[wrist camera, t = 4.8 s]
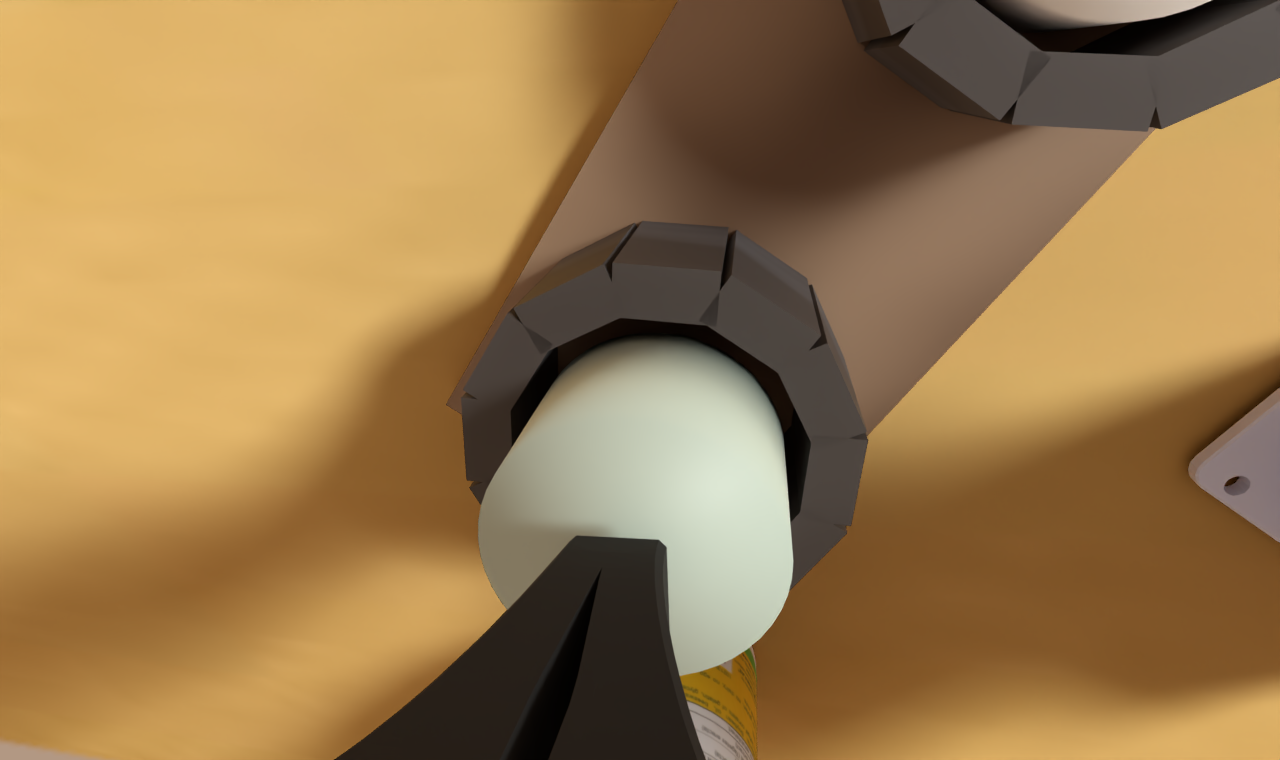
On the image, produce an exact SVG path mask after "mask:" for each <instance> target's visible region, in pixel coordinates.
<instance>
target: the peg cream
mask: <svg viewBox="0 0 1280 760" xmlns="http://www.w3.org/2000/svg"><path fill="white" fill-rule="evenodd" d="M975 1H976V2H978V3H979V4H980V5H982V6H983V7H984V8H986V9H987V10H988V11H990V12H991V13H992V14H994V15H995V16H996V17H997V18H999V19H1000V20H1001V21H1003V22H1004V23H1005V24H1007V25H1008V26H1009V27H1011V28H1012V29H1013V30H1015V31H1016V32H1020V33H1039V32H1051V31H1059V30H1067V29H1076V28H1084V27H1093V26H1101V25H1110V24H1118V23H1126V22H1135V21H1141V20H1148V19H1154V18H1160V17H1165V16H1168V15H1172V14H1175V13H1179V12H1182V11H1186V10H1189V9H1192V8H1195V7H1197V6H1199V5H1202V4H1204V3H1207V2H1209V1H1211V0H975Z"/></svg>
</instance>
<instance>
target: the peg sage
mask: <svg viewBox="0 0 1280 760" xmlns="http://www.w3.org/2000/svg"><path fill="white" fill-rule="evenodd" d="M576 535H579V536H598V537H617V538H637V539H656V540H660V541H661V542H662V543H663V544H664V545H665V546H666V547H667V569H668V597H669V626H670V635H671V640H672V645H673V650H674V655H675V659H676V663H677V667H678V671H679V675H680V676H682V675H687V674H691V673H696V672H700V671H703V670H706V669H709V668H712V667H715V666H718V665H720V664H722V663H724V662H726V661H729V660H731V659H733V658H734V657H736V656H738V655H739V654H741V653H742V652H744V651H745V650H747V649H748V648H749V647H751V646H752V645H753V644H754V643H755V642H757V641H758V640H759V639H760V638H761V637H762V636H763V635H764V634H765V633H766V631H767V630H768V629H769V628H770V627H771V626H772V624H773V623H774V621H775V620H776V618H777V617H778V615H779V613H780V612H781V610H782V608H783V605H784V603H785V601H786V599H787V596H788V593H789V589H790V585H791V581H792V573H793V550H792V538H791V525H790V512H789V500H788V487H787V475H786V462H785V449H784V438H783V431H782V427H781V422H780V419H779V416H778V414H777V411H776V409H775V406H774V404H773V402H772V400H771V399H770V397H769V395H768V393H767V392H766V390H765V389H764V388H763V386H762V385H761V384H760V382H759V381H758V380H757V379H756V377H755V376H754V375H753V374H752V373H750V372H749V371H748V370H747V369H746V368H745V367H744V366H743V365H742V364H741V363H739V362H738V361H737V360H735V359H734V358H733V357H731V356H730V355H728V354H726V353H725V352H723V351H721V350H719V349H718V348H716V347H714V346H711V345H709V344H707V343H704V342H702V341H699V340H696V339H692V338H689V337H685V336H681V335H675V334H668V333H638V334H630V335H625V336H621V337H616V338H613V339H610V340H608V341H605V342H602V343H600V344H598V345H596V346H594V347H592V348H590V349H588V350H586V351H585V352H583V353H582V354H581V355H579V356H578V357H577V358H575V359H574V360H573V361H572V362H571V363H570V364H569V365H567V366H566V367H565V368H564V369H563V370H562V372H561V373H560V374H559V376H558V377H557V378H556V379H555V381H554V382H553V384H552V385H551V387H550V388H549V390H548V391H547V393H546V395H545V396H544V398H543V399H542V401H541V402H540V404H539V406H538V407H537V409H536V410H535V412H534V413H533V415H532V417H531V418H530V420H529V421H528V423H527V424H526V426H525V428H524V429H523V431H522V432H521V434H520V435H519V437H518V439H517V440H516V442H515V443H514V445H513V446H512V448H511V450H510V451H509V453H508V454H507V456H506V457H505V459H504V461H503V462H502V464H501V465H500V467H499V468H498V470H497V472H496V473H495V475H494V477H493V479H492V480H491V482H490V484H489V486H488V488H487V490H486V493H485V495H484V498H483V501H482V504H481V509H480V514H479V520H478V542H479V549H480V556H481V559H482V562H483V566H484V569H485V572H486V574H487V577H488V579H489V581H490V583H491V586H492V588H493V589H494V591H495V593H496V594H497V596H498V598H499V599H500V601H501V602H502V604H503V605H504V606H505V607H506V609H507V610H508V609H509V608H510V606H511V605H512V604H513V603H514V602H515V601H516V600H517V599H518V598H519V597H520V596H521V595H522V594H523V593H524V592H525V591H526V590H527V588H528V587H529V586H530V585H531V584H532V583H533V582H534V581H535V580H536V579H537V577H538V576H539V575H540V574H541V573H542V572H543V571H544V570H545V569H546V567H547V566H548V565H549V564H550V563H551V562H552V561H553V559H554V558H555V557H556V556H557V555H558V554H559V553H560V551H561V550H562V549H563V548H564V547H565V546H566V545H567V544H568V542H569V541H571V540H572V539H573V538H574V537H575V536H576Z"/></svg>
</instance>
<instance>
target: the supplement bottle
mask: <svg viewBox="0 0 1280 760" xmlns="http://www.w3.org/2000/svg"><path fill="white" fill-rule="evenodd" d="M680 679H681V682H682V686H683V690H684V693H685V697H686V700H687V704H688V707H689V710H690V714H691V717H692V720H693V723H694V726H695V729H696V733H697V736H698V739H699V742H700V744H701V747H702V750H703V753H704V755H705V758H706V760H757V676H756V661H755V655H754V651H753V648H752V646H751V647H749V648H748V649H747V650H745V651H744V652H742V653H741V654H739V655H738V656H736V657H734V658H733V659H731V660H729V661H726V662H724V663H722V664H720V665H718V666H715V667H712V668H709V669H706V670H703V671H700V672H696V673H691V674H687V675H682V676H680Z"/></svg>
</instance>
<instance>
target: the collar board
mask: <svg viewBox="0 0 1280 760" xmlns="http://www.w3.org/2000/svg"><path fill="white" fill-rule="evenodd" d="M1278 78H1280V0H1211V1H1209V2H1207V3H1204V4H1202V5H1199V6H1197V7H1195V8H1192V9H1189V10H1186V11H1182V12H1179V13H1175V14H1172V15H1168V16H1165V17H1160V18H1154V19H1148V20H1141V21H1135V22H1126V23H1118V24H1110V25H1101V26H1093V27H1084V28H1076V29H1067V30H1059V31H1051V32H1039V33H1020V32H1016V31H1015V30H1013V29H1012V28H1011V27H1009V26H1008V25H1007V24H1005V23H1004V22H1003V21H1001V20H1000V19H999V18H997V17H996V16H995V15H994V14H992V13H991V12H990V11H988V10H987V9H986V8H984V7H983V6H982V5H980V4H979V3H978V2H976V1H975V0H678V2H677V3H676V5H675V7H674V9H673V10H672V12H671V14H670V16H669V17H668V19H667V21H666V22H665V24H664V26H663V28H662V29H661V31H660V33H659V35H658V36H657V38H656V40H655V42H654V43H653V45H652V47H651V49H650V50H649V52H648V54H647V56H646V57H645V59H644V61H643V62H642V64H641V66H640V68H639V69H638V71H637V73H636V75H635V76H634V78H633V80H632V82H631V83H630V85H629V87H628V89H627V90H626V92H625V94H624V96H623V97H622V99H621V101H620V103H619V104H618V106H617V108H616V109H615V111H614V113H613V115H612V116H611V118H610V120H609V122H608V123H607V125H606V127H605V129H604V130H603V132H602V134H601V136H600V137H599V139H598V141H597V143H596V144H595V146H594V148H593V149H592V151H591V153H590V155H589V156H588V158H587V160H586V162H585V163H584V165H583V167H582V169H581V170H580V172H579V174H578V176H577V177H576V179H575V181H574V183H573V184H572V186H571V188H570V190H569V191H568V193H567V195H566V196H565V198H564V200H563V202H562V203H561V205H560V207H559V209H558V210H557V212H556V214H555V216H554V217H553V219H552V221H551V223H550V224H549V226H548V228H547V230H546V231H545V233H544V235H543V236H542V238H541V240H540V242H539V243H538V245H537V247H536V249H535V250H534V252H533V254H532V256H531V257H530V259H529V261H528V263H527V264H526V266H525V268H524V270H523V271H522V273H521V275H520V277H519V278H518V280H517V282H516V283H515V285H514V287H513V289H512V290H511V292H510V294H509V296H508V297H507V299H506V301H505V303H504V304H503V306H502V308H501V310H500V311H499V313H498V315H497V317H496V318H495V320H494V322H493V323H492V325H491V327H490V329H489V330H488V332H487V334H486V336H485V337H484V339H483V341H482V343H481V344H480V346H479V348H478V350H477V351H476V353H475V355H474V357H473V358H472V360H471V362H470V364H469V365H468V367H467V369H466V370H465V372H464V374H463V376H462V377H461V379H460V381H459V383H458V384H457V386H456V388H455V390H454V391H453V393H452V395H451V397H450V398H449V400H448V402H447V404H446V405H447V406H449V407H450V408H452V409H454V410H455V411H457V412H458V413H460V414H462V420H463V435H464V449H465V464H466V479H467V480H469V481H474V482H473V483H472V484H471V486H470V487H469V488H470V490H471V491H472V493H473V494H474V496H475V497H476V498H477V500H478V501H479V503H480V504H482V501H483V498H484V495H485V493H486V490H487V488H488V486H489V484H490V482H491V480H492V479H493V477H494V475H495V473H496V472H497V470H498V468H499V467H500V465H501V464H502V462H503V461H504V459H505V457H506V456H507V454H508V453H509V451H510V450H511V448H512V446H513V445H514V443H515V442H516V440H517V439H518V437H519V435H520V434H521V432H522V431H523V429H524V428H525V426H526V424H527V423H528V421H529V420H530V418H531V417H532V415H533V413H534V412H535V410H536V409H537V407H538V406H539V404H540V402H541V401H542V399H543V398H544V396H545V395H546V393H547V391H548V390H549V388H550V387H551V385H552V384H553V382H554V381H555V379H556V378H557V377H558V376H559V374H560V373H561V372H562V370H563V369H564V368H565V367H566V366H567V365H569V364H570V363H571V362H572V361H573V360H574V359H575V358H577V357H578V356H579V355H581V354H582V353H583V352H585V351H586V350H588V349H590V348H592V347H594V346H596V345H598V344H600V343H602V342H605V341H608V340H610V339H613V338H616V337H621V336H625V335H630V334H638V333H668V334H675V335H681V336H685V337H689V338H692V339H696V340H699V341H702V342H704V343H707V344H709V345H711V346H714V347H716V348H718V349H719V350H721V351H723V352H725V353H726V354H728V355H730V356H731V357H733V358H734V359H735V360H737V361H738V362H739V363H741V364H742V365H743V366H744V367H745V368H746V369H747V370H748V371H749V372H750V373H752V374H753V375H754V376H755V377H756V379H757V380H758V381H759V382H760V384H761V385H762V386H763V388H764V389H765V390H766V392H767V393H768V395H769V397H770V399H771V400H772V402H773V404H774V406H775V409H776V411H777V414H778V416H779V419H780V422H781V427H782V431H783V438H784V449H785V462H786V475H787V487H788V500H789V512H790V525H791V538H792V550H793V573H792V581H791V585H790V589H789V591H790V590H791V589H792V588H793V587H794V586H795V585H796V584H797V583H798V582H799V581H800V580H801V579H802V578H803V577H804V576H805V575H806V574H807V573H808V572H809V571H810V570H811V569H812V568H813V567H814V566H815V565H816V564H817V563H818V562H819V561H820V560H821V559H822V558H823V557H824V556H825V555H826V554H827V553H828V552H829V551H830V550H831V549H832V548H833V547H834V546H835V545H836V544H837V543H838V542H839V541H840V540H841V539H842V538H843V537H844V536H845V535H846V534H847V530H846V526H851V524H852V519H853V514H854V509H855V504H856V499H857V493H858V488H859V483H860V478H861V473H862V468H863V463H864V458H865V453H866V448H867V443H868V439H867V436H868V434H869V433H870V432H871V431H872V430H873V429H874V428H875V427H876V426H877V425H878V424H879V423H880V422H881V421H882V420H883V418H884V417H885V416H886V415H887V414H888V413H889V412H890V411H891V410H892V409H893V408H894V407H895V406H896V405H897V404H898V403H899V401H900V400H901V399H902V398H903V397H904V396H905V395H906V394H907V393H908V392H909V391H910V390H911V389H912V388H913V387H914V385H915V384H916V383H917V382H918V381H919V380H920V379H921V378H922V377H923V376H924V375H925V374H926V373H927V372H928V371H929V369H930V368H931V367H932V366H933V365H934V364H935V363H936V362H937V361H938V360H939V359H940V358H941V357H942V356H943V355H944V353H945V352H946V351H947V350H948V349H949V348H950V347H951V346H952V345H953V344H954V343H955V342H956V341H957V340H958V339H959V337H960V336H961V335H962V334H963V333H964V332H965V331H966V330H967V329H968V328H969V327H970V326H971V325H972V324H973V323H974V322H975V320H976V319H977V318H978V317H979V316H980V315H981V314H982V313H983V312H984V311H985V310H986V309H987V308H988V307H989V306H990V304H991V303H992V302H993V301H994V300H995V299H996V298H997V297H998V296H999V295H1000V294H1001V293H1002V292H1003V291H1004V290H1005V288H1006V287H1007V286H1008V285H1009V284H1010V283H1011V282H1012V281H1013V280H1014V279H1015V278H1016V277H1017V276H1018V275H1019V274H1020V272H1021V271H1022V270H1023V269H1024V268H1025V267H1026V266H1027V265H1028V264H1029V263H1030V262H1031V261H1032V260H1033V259H1034V258H1035V256H1036V255H1037V254H1038V253H1039V252H1040V251H1041V250H1042V249H1043V248H1044V247H1045V246H1046V245H1047V244H1048V243H1049V242H1050V241H1051V239H1052V238H1053V237H1054V236H1055V235H1056V234H1057V233H1058V232H1059V231H1060V230H1061V229H1062V228H1063V227H1064V226H1065V225H1066V223H1067V222H1068V221H1069V220H1070V219H1071V218H1072V217H1073V216H1074V215H1075V214H1076V213H1077V212H1078V211H1079V210H1080V209H1081V207H1082V206H1083V205H1084V204H1085V203H1086V202H1087V201H1088V200H1089V199H1090V198H1091V197H1092V196H1093V195H1094V194H1095V193H1096V191H1097V190H1098V189H1099V188H1100V187H1101V186H1102V185H1103V184H1104V183H1105V182H1106V181H1107V180H1108V179H1109V178H1110V177H1111V175H1112V174H1113V173H1114V172H1115V171H1116V170H1117V169H1118V168H1119V167H1120V166H1121V165H1122V164H1123V163H1124V162H1125V161H1126V160H1127V158H1128V157H1129V156H1130V155H1131V154H1132V153H1133V152H1134V151H1135V150H1136V149H1137V148H1138V147H1139V146H1140V145H1141V144H1142V142H1143V141H1144V140H1145V139H1146V138H1147V137H1148V136H1149V135H1150V134H1151V133H1152V132H1153V131H1154V130H1155V129H1156V128H1158V129H1163V128H1165V127H1168V126H1170V125H1172V124H1175V123H1177V122H1179V121H1181V120H1184V119H1186V118H1188V117H1191V116H1193V115H1195V114H1198V113H1200V112H1202V111H1204V110H1207V109H1209V108H1211V107H1214V106H1216V105H1218V104H1221V103H1223V102H1225V101H1227V100H1230V99H1232V98H1234V97H1237V96H1239V95H1241V94H1244V93H1246V92H1248V91H1250V90H1253V89H1255V88H1257V87H1260V86H1262V85H1264V84H1267V83H1269V82H1271V81H1273V80H1276V79H1278Z"/></svg>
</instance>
